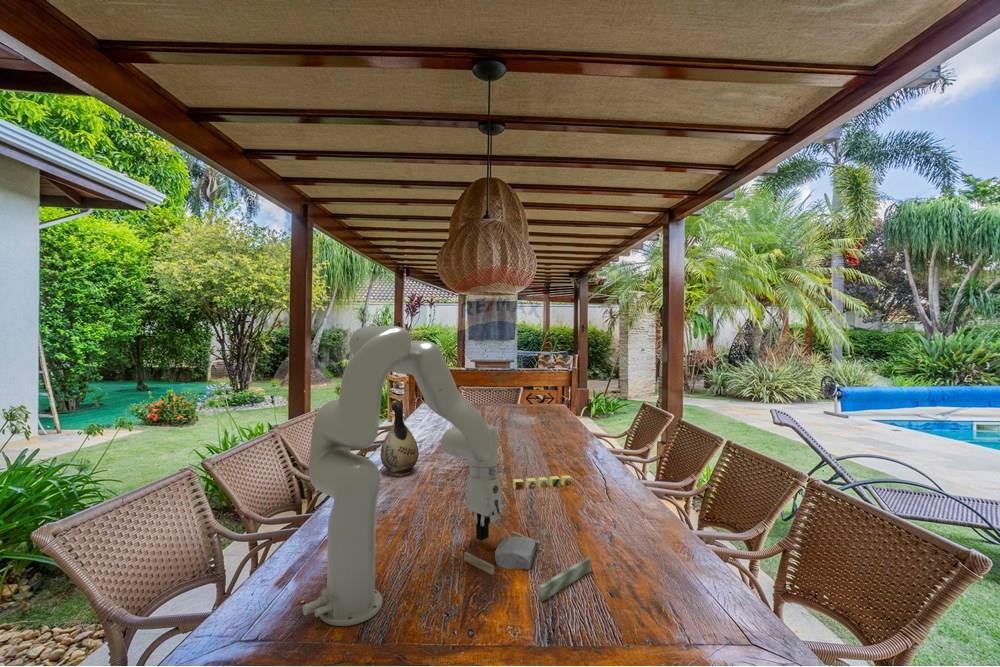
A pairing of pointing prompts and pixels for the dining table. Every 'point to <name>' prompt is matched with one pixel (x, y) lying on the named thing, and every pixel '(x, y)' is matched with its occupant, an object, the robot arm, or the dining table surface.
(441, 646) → the dining table surface
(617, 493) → the dining table surface
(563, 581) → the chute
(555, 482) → the yellow picture cubes row
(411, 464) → the round beige bottle
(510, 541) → the stone block
